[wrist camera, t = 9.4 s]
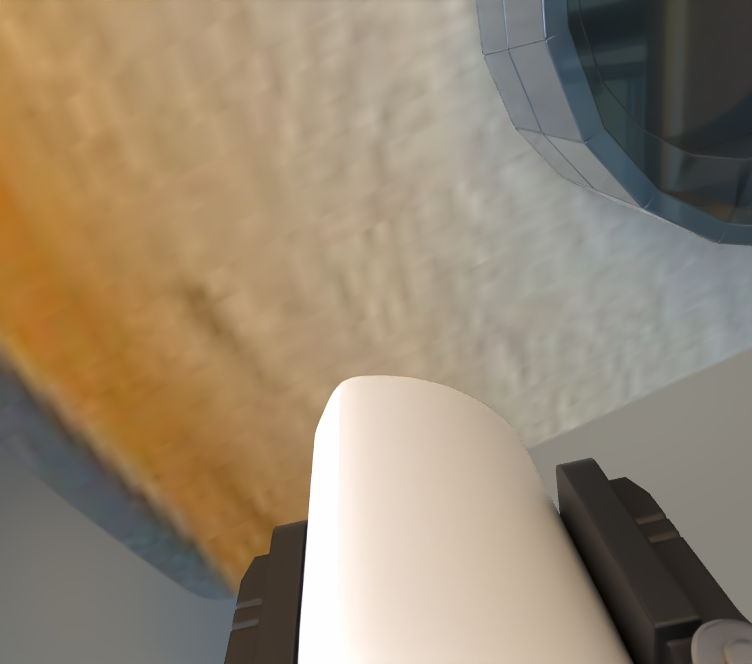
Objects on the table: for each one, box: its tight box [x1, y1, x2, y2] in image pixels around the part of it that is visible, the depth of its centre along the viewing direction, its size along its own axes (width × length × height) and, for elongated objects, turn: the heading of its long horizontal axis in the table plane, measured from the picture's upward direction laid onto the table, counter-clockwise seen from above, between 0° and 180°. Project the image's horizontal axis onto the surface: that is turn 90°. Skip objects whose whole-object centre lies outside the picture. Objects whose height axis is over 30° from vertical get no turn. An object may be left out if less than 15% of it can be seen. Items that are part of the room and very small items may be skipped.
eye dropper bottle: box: [298, 375, 634, 664], centre depth 8 cm, size 4×6×12 cm
